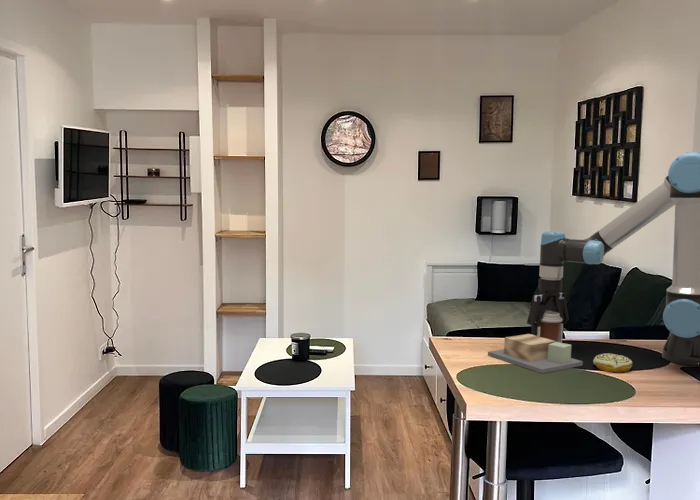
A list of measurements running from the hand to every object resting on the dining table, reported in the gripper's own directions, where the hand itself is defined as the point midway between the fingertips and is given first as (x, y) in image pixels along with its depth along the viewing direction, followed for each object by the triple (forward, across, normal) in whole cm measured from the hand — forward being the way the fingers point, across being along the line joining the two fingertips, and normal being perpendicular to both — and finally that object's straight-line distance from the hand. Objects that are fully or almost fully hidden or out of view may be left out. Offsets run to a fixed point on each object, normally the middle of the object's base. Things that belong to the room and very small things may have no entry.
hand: (546, 343), depth 220 cm
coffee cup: (+2, 0, 0) cm, 2 cm away
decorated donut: (+2, +1, +26) cm, 26 cm away
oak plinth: (0, +16, +7) cm, 17 cm away
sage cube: (0, +13, +16) cm, 21 cm away
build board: (+1, +16, +9) cm, 18 cm away
